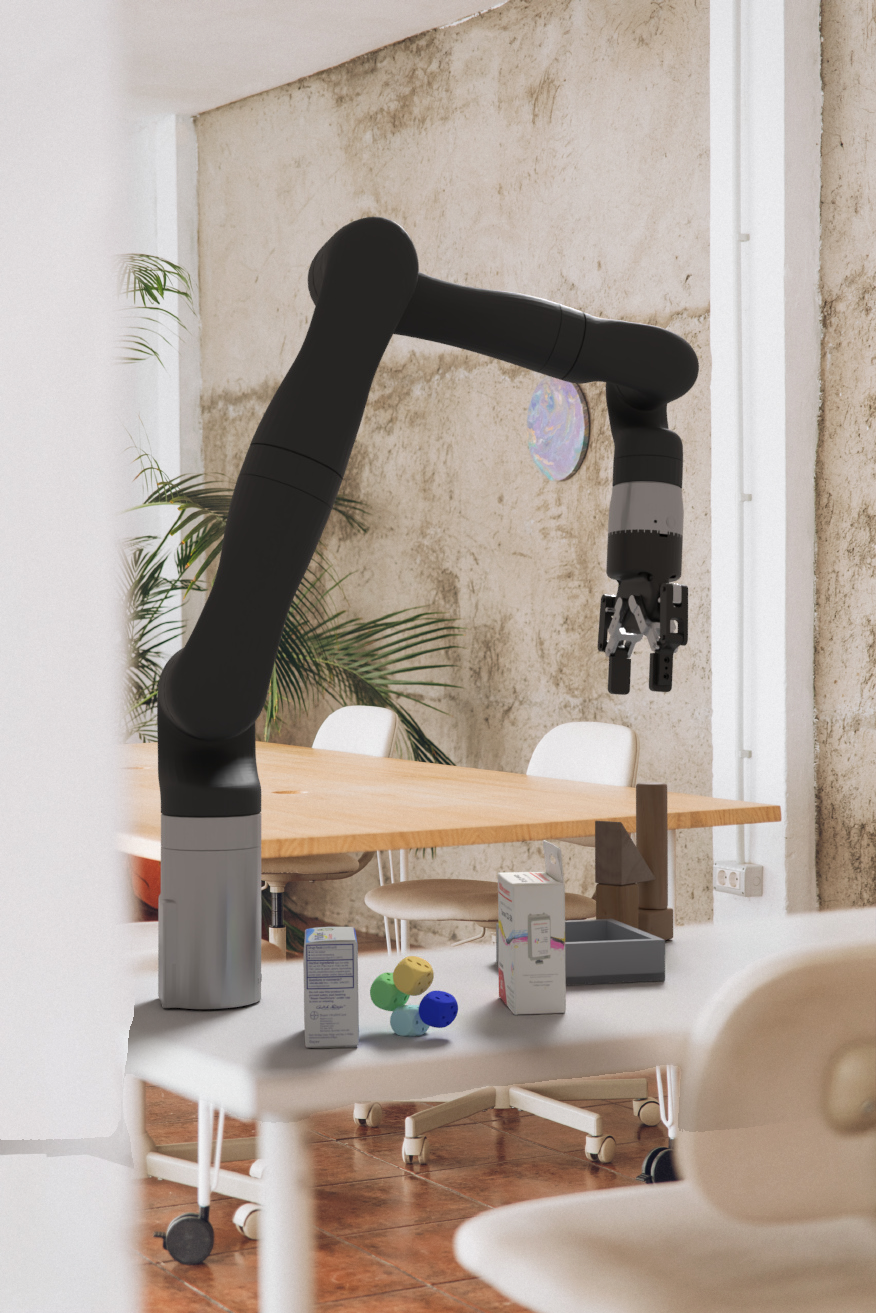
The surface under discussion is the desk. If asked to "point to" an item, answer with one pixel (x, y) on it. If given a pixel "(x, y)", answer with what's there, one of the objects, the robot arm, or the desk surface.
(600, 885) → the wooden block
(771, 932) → the desk surface
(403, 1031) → the dice
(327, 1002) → the medicine box
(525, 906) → the ink cartridge box
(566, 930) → the box
